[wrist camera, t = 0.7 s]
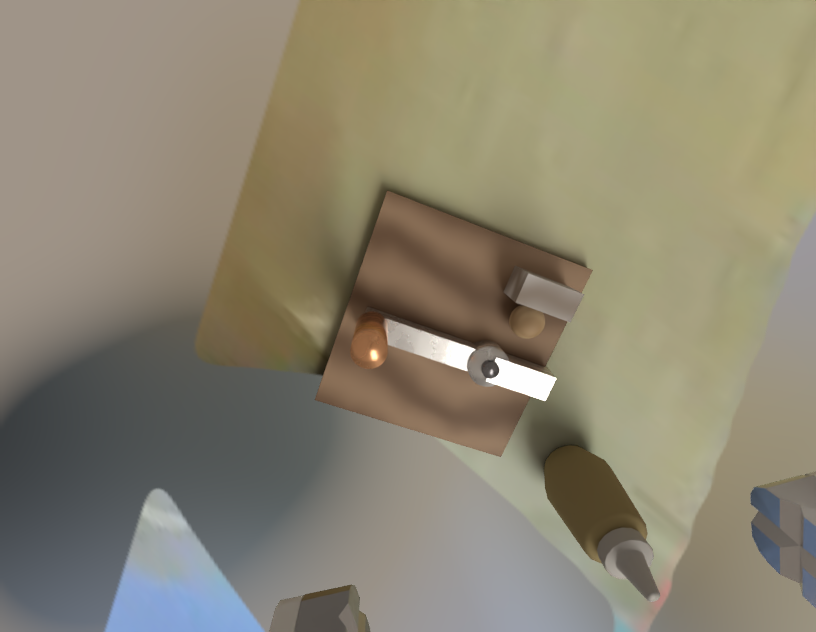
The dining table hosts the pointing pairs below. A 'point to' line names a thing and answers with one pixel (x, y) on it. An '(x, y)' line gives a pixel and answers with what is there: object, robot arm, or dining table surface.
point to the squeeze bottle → (600, 515)
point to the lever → (446, 353)
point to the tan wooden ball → (526, 322)
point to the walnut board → (448, 322)
